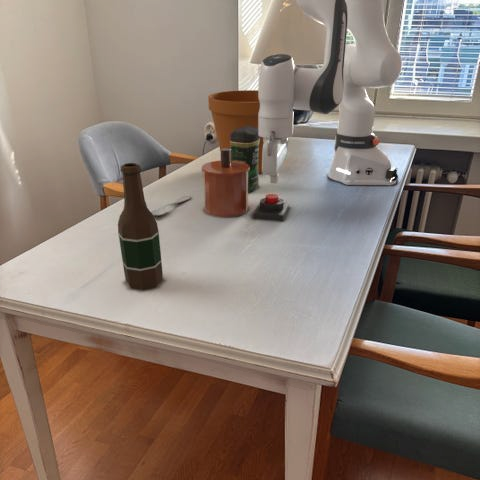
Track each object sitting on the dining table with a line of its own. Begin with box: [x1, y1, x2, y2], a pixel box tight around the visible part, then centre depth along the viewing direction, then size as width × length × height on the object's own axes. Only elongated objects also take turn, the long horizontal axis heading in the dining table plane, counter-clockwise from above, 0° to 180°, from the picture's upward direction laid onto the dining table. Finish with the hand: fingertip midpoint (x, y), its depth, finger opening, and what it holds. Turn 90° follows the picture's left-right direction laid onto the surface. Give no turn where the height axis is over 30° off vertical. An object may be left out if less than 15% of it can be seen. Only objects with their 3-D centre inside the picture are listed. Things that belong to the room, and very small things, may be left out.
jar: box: [202, 171, 249, 218], centre depth 134 cm, size 12×12×12 cm
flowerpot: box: [207, 89, 264, 174], centre depth 169 cm, size 28×28×24 cm
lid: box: [201, 148, 250, 176], centre depth 130 cm, size 13×13×6 cm
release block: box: [253, 197, 290, 222], centre depth 134 cm, size 11×8×4 cm
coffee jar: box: [230, 126, 260, 193], centre depth 148 cm, size 10×8×19 cm
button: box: [265, 193, 280, 204], centre depth 133 cm, size 4×4×2 cm
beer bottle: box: [117, 162, 164, 291], centre depth 94 cm, size 8×8×24 cm
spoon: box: [150, 196, 191, 217], centre depth 138 cm, size 4×21×2 cm, turn 155°
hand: (274, 181), depth 130 cm, fingers closed
